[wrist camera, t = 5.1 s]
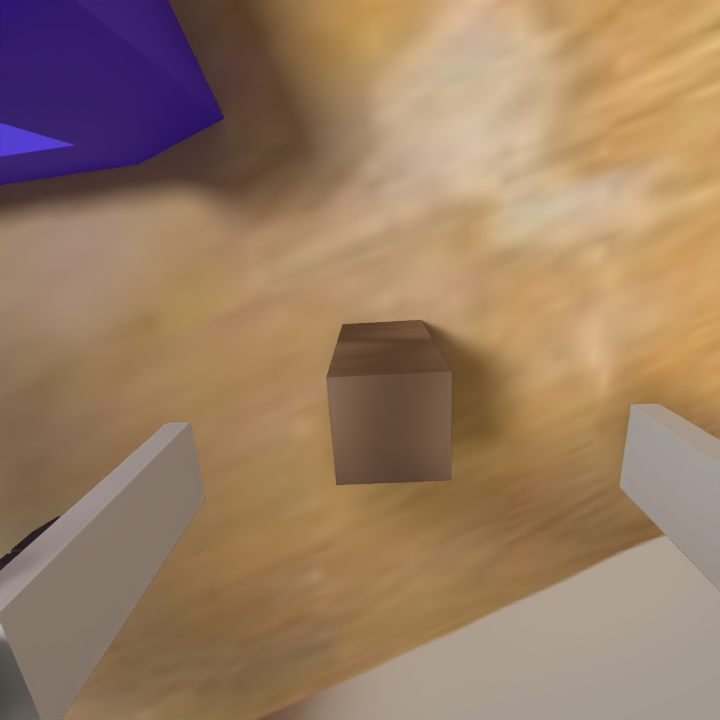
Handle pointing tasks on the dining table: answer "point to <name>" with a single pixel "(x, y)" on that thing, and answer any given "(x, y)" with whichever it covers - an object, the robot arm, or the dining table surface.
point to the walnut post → (389, 405)
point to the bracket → (94, 86)
